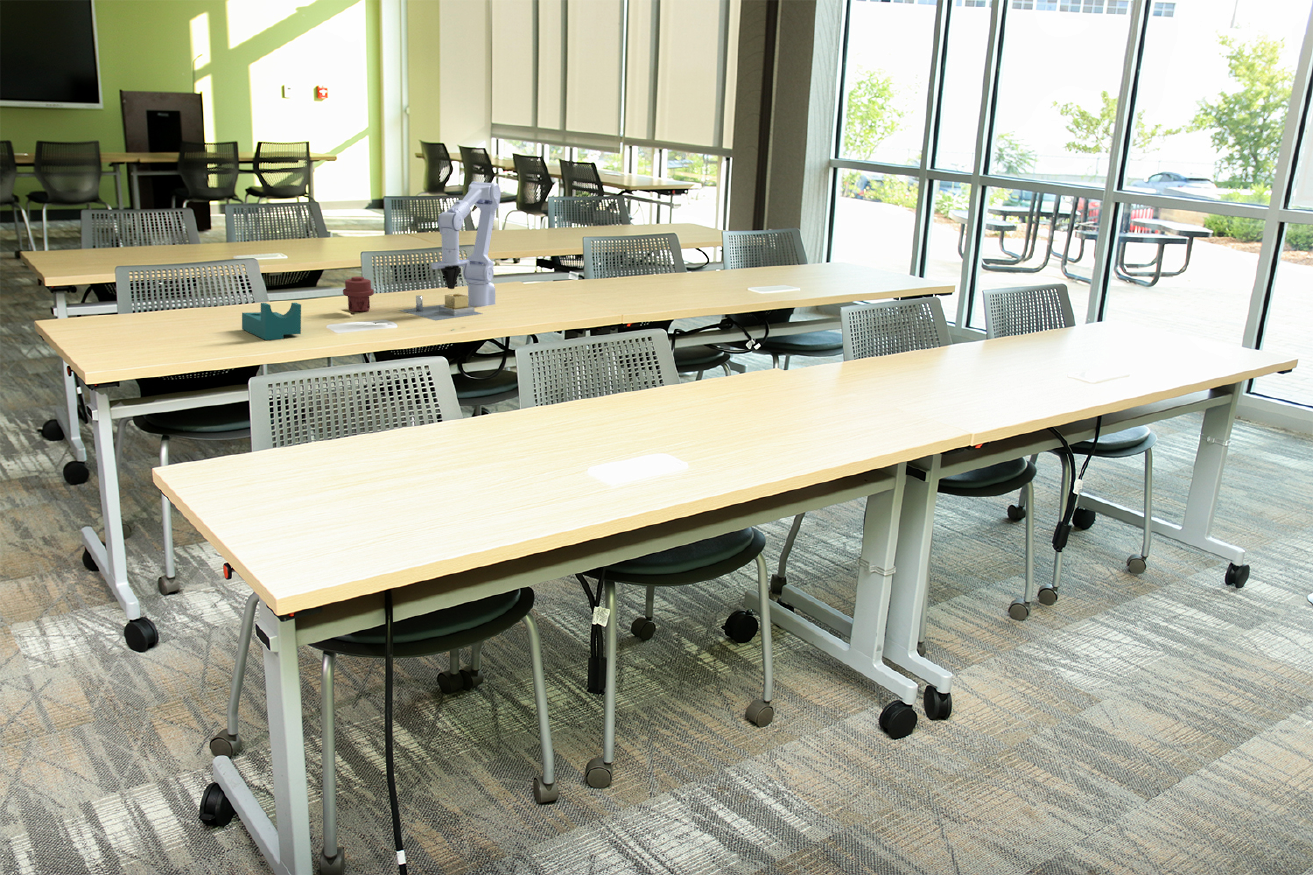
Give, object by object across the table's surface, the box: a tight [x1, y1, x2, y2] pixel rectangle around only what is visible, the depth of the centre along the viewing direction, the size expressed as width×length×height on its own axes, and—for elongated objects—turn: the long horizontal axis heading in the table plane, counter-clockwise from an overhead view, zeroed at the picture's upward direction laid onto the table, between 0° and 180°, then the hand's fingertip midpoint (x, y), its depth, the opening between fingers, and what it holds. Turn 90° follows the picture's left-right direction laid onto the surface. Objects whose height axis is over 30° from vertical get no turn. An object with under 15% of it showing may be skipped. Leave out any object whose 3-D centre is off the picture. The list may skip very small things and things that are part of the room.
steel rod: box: [415, 295, 424, 312], centre depth 348 cm, size 2×2×5 cm
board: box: [398, 303, 484, 321], centre depth 349 cm, size 20×21×1 cm
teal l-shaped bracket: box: [241, 302, 302, 341], centre depth 309 cm, size 18×11×10 cm, turn 42°
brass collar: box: [444, 293, 469, 309], centre depth 348 cm, size 6×6×5 cm
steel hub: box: [439, 304, 476, 316], centre depth 348 cm, size 9×9×5 cm
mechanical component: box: [342, 276, 375, 316], centre depth 343 cm, size 12×10×10 cm
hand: (451, 288), depth 345 cm, fingers closed
